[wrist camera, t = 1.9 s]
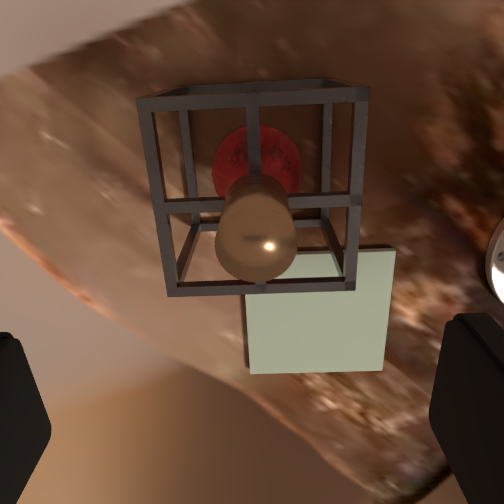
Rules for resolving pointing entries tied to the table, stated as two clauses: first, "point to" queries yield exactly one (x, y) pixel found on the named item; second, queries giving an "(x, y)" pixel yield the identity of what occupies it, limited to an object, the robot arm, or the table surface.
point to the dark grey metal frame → (257, 191)
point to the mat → (323, 318)
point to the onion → (272, 159)
